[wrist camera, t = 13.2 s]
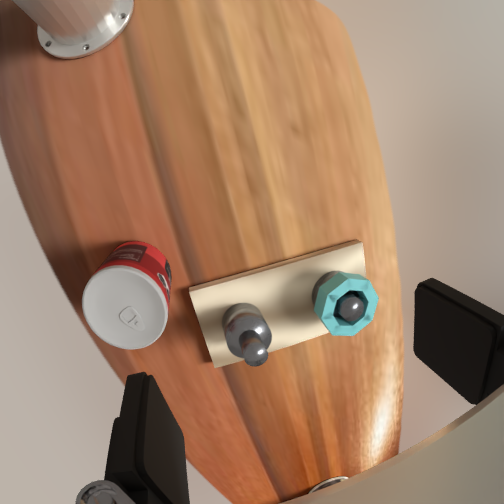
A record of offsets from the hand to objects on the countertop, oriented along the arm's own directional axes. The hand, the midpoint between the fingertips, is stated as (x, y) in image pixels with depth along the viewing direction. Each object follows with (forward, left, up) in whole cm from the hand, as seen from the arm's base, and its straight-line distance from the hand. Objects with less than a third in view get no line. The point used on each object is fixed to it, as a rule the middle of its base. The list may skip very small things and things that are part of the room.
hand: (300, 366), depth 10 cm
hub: (+12, +12, -27) cm, 32 cm away
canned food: (+3, -10, -28) cm, 30 cm away
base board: (+12, +6, -28) cm, 31 cm away
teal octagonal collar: (+12, +12, -24) cm, 29 cm away
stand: (+12, 0, -27) cm, 29 cm away
